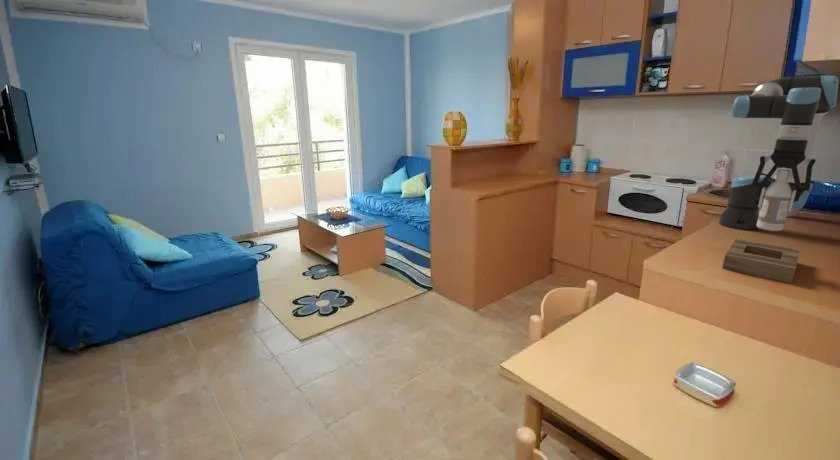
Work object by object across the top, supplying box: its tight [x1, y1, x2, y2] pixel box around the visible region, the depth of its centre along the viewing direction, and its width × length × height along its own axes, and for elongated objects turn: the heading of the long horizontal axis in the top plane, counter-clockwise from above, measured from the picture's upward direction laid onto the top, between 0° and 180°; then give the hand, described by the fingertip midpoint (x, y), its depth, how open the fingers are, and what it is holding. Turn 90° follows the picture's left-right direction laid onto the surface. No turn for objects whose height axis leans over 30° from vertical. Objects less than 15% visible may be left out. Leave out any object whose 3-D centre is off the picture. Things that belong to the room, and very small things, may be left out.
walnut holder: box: [721, 238, 800, 284], centre depth 141 cm, size 24×18×5 cm
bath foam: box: [757, 168, 792, 232], centre depth 134 cm, size 7×7×20 cm
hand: (774, 208), depth 135 cm, fingers closed on bath foam, 7 cm apart
